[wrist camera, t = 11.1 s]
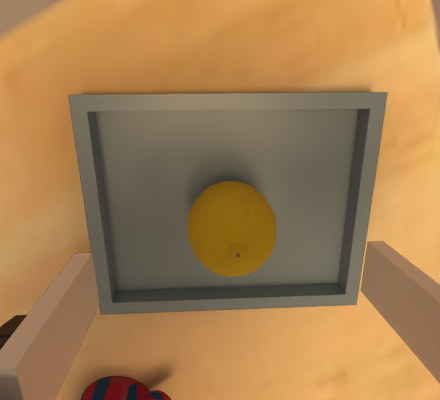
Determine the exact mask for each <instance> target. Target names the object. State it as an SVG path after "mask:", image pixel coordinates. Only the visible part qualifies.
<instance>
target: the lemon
mask: <svg viewBox="0 0 440 400" xmlns="http://www.w3.org/2000/svg"><path fill="white" fill-rule="evenodd" d="M187 230H188V239H189V242H190V245H191V247H192V250H193V252H194V254H195V255H196V257H197V258H198V259H199V261H200V262H201V263H202V264H203V265H204V266H205V267H207V268H208V269H209V270H210V271H212V272H215V273H217V274H219V275H223V276H228V277H237V276H243V275H247V274H249V273H251V272H253V271H255V270H257V269H258V268H260V267H261V266H262V265H263V264H264V263H265V262H266V261H267V259H268V258H269V257H270V255H271V253H272V250H273V248H274V246H275V241H276V233H277V228H276V220H275V215H274V213H273V211H272V208H271V206H270V204H269V202H268V201H267V200H266V199H265V197H264V196H263V195H262V194H261V193H260V192H259V191H257V190H256V189H255V188H253V187H252V186H250V185H247V184H244V183H242V182H235V181H226V182H220V183H217V184H215V185H212V186H210V187H208V188H207V189H206V190H204V191H203V192H202V193H201V194H200V195H199V196H198V198H197V199H196V200H195V201H194V203H193V205H192V207H191V210H190V212H189V217H188V222H187Z"/></svg>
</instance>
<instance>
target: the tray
mask: <svg viewBox="0 0 440 400" xmlns="http://www.w3.org/2000/svg"><path fill="white" fill-rule="evenodd" d="M387 93H388V92H344V93H224V94H104V95H68V97H69V104H70V111H71V118H72V125H73V131H74V138H75V145H76V152H77V158H78V165H79V172H80V179H81V186H82V192H83V199H84V206H85V213H86V219H87V226H88V233H89V240H90V247H91V253H92V255H93V262H94V269H95V276H96V283H97V290H98V297H99V308H100V314H101V315H102V314H128V313H155V312H182V311H209V310H235V309H262V308H289V307H316V306H342V305H357V298H358V291H359V285H360V278H361V271H362V264H363V257H364V250H365V244H366V237H367V230H368V223H369V216H370V209H371V203H372V196H373V189H374V182H375V175H376V168H377V162H378V155H379V148H380V141H381V134H382V127H383V121H384V114H385V107H386V100H387ZM226 181H235V182H242V183H244V184H247V185H250V186H252V187H253V188H255V189H256V190H257V191H259V192H260V193H261V194H262V195H263V196H264V197H265V199H266V200H267V201H268V202H269V204H270V206H271V208H272V211H273V213H274V215H275V220H276V228H277V233H276V241H275V246H274V248H273V250H272V253H271V255H270V257H269V258H268V259H267V261H266V262H265V263H264V264H263V265H262V266H261V267H260V268H258V269H257V270H255V271H253V272H251V273H249V274H247V275H243V276H237V277H228V276H223V275H219V274H217V273H215V272H212V271H210V270H209V269H208V268H207V267H205V266H204V265H203V264H202V263H201V262H200V261H199V259H198V258H197V257H196V255H195V254H194V252H193V250H192V247H191V245H190V242H189V239H188V230H187V222H188V217H189V212H190V210H191V207H192V205H193V203H194V201H195V200H196V199H197V198H198V196H199V195H200V194H201V193H202V192H203V191H204V190H206V189H207V188H208V187H210V186H212V185H215V184H217V183H220V182H226Z"/></svg>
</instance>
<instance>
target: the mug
mask: <svg viewBox="0 0 440 400" xmlns="http://www.w3.org/2000/svg"><path fill="white" fill-rule="evenodd" d="M81 400H171V398H170V397H169V396H168V395H167V394H165V393H164V392H162V391H158V390H155V391H148V390H147V389H146V388H145V387H144V386H143V385H142V384H140V383H139V382H137V381H135V380H132V379H129V378H126V377H107V378H103V379H100V380H98V381H96V382H94V383H93V384H91V385H90V386H89V387H88V388H87V389H86V390H85V392H84V393H83V395H82V398H81Z"/></svg>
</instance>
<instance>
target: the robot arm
mask: <svg viewBox="0 0 440 400" xmlns="http://www.w3.org/2000/svg"><path fill="white" fill-rule="evenodd" d="M361 292H362V293H363V294H364V295H365V296H366V298H367V299H368V300H369V301H370V302H371V303H372V305H373V306H374V307H375V308H376V309H377V310H378V312H379V313H380V314H381V315H382V316H383V317H384V319H385V320H386V321H387V322H388V323H389V325H390V326H391V327H392V328H393V329H394V330H395V332H396V333H397V334H398V335H399V336H400V337H401V339H402V340H403V341H404V342H405V343H406V344H407V346H408V347H409V348H410V349H411V350H412V351H413V353H414V354H415V355H416V356H417V357H418V358H419V360H420V361H421V362H422V363H423V364H424V366H425V367H426V368H427V369H428V370H429V371H430V373H431V374H432V375H433V376H434V377H435V378H436V380H437V381H438V382H439V383H440V285H439V284H438V283H437V282H435V281H434V280H433V279H432V278H430V277H429V276H428V275H426V274H425V273H424V272H422V271H421V270H420V269H419V268H417V267H416V266H415V265H413V264H412V263H411V262H409V261H408V260H407V259H406V258H404V257H403V256H402V255H400V254H399V253H398V252H396V251H395V250H394V249H392V248H391V247H390V246H389V245H387V244H386V243H385V242H383V241H373V242H368V243H367V250H366V257H365V264H364V271H363V278H362V285H361ZM98 306H99V297H98V290H97V283H96V276H95V269H94V262H93V255H92V253H75V254H74V255H73V257H72V258H71V259H70V261H69V262H68V263H67V264H66V266H65V267H64V268H63V270H62V271H61V272H60V273H59V275H58V276H57V277H56V279H55V280H54V281H53V283H52V284H51V285H50V286H49V288H48V289H47V290H46V292H45V293H44V294H43V295H42V297H41V298H40V299H39V301H38V302H37V303H36V305H35V306H34V307H33V308H32V310H31V311H30V312H29V314H28V315H16V316H15V317H13V318H12V319H10V320H9V321H8V322H6V323H5V324H3V325H2V326H1V327H0V400H55V398H56V396H57V394H58V392H59V390H60V387H61V385H62V383H63V381H64V379H65V377H66V375H67V372H68V370H69V368H70V366H71V364H72V362H73V360H74V357H75V355H76V353H77V351H78V349H79V347H80V345H81V342H82V340H83V338H84V336H85V334H86V332H87V330H88V327H89V325H90V323H91V321H92V319H93V317H94V314H95V312H96V310H97V308H98Z"/></svg>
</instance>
